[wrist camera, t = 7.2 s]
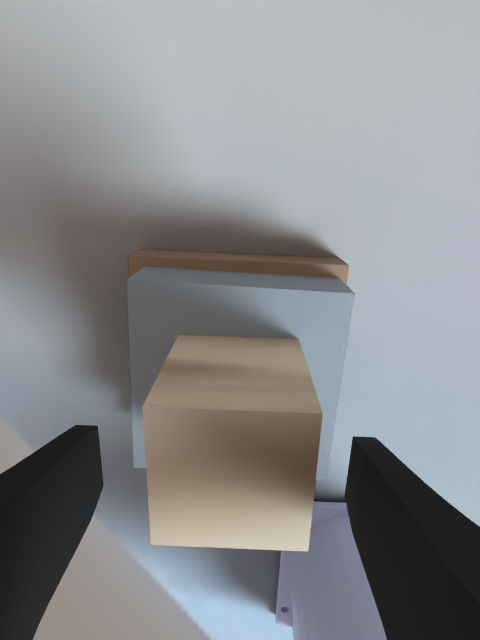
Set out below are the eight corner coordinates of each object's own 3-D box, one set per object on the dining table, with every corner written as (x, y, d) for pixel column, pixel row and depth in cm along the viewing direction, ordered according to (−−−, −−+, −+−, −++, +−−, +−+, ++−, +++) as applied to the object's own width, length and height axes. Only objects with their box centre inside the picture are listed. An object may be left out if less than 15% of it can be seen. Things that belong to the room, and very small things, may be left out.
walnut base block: (316, 422, 21) (325, 451, 19) (150, 414, 21) (138, 442, 19) (336, 255, 18) (348, 265, 16) (143, 247, 18) (127, 256, 16)
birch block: (290, 441, 16) (308, 551, 11) (180, 437, 16) (151, 544, 11) (298, 338, 14) (322, 413, 9) (178, 335, 14) (142, 407, 10)
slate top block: (315, 443, 19) (325, 480, 16) (148, 432, 19) (133, 467, 16) (339, 278, 16) (354, 293, 14) (144, 266, 16) (126, 279, 14)
